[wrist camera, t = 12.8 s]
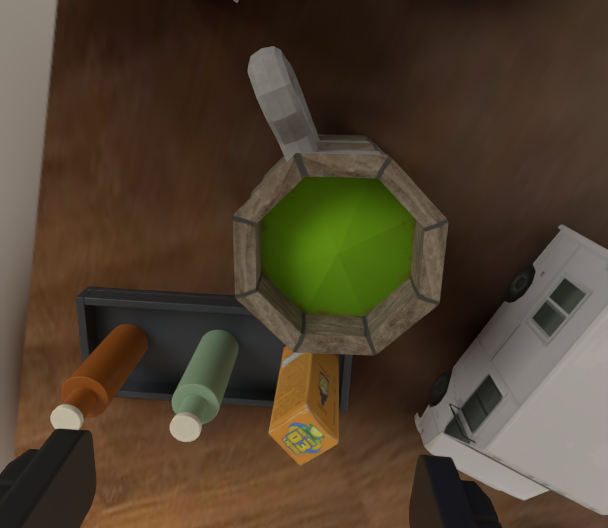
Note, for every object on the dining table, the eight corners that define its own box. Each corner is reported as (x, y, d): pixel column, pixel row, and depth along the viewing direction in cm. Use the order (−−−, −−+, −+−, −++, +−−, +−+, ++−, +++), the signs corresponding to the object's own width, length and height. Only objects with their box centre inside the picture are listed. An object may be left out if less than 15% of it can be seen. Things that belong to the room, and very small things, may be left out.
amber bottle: (111, 357, 39) (42, 440, 29) (108, 322, 38) (37, 397, 28) (149, 359, 39) (93, 444, 29) (147, 324, 38) (88, 400, 28)
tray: (97, 380, 40) (85, 395, 38) (88, 286, 38) (75, 296, 36) (346, 396, 40) (347, 412, 38) (354, 302, 37) (356, 314, 35)
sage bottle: (200, 362, 39) (160, 448, 29) (199, 328, 38) (157, 405, 28) (238, 365, 39) (210, 452, 29) (239, 330, 38) (210, 409, 28)
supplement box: (278, 348, 38) (263, 432, 29) (313, 323, 37) (310, 401, 28) (305, 378, 39) (299, 470, 29) (340, 355, 38) (346, 441, 29)
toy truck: (371, 381, 39) (387, 472, 30) (579, 199, 34) (678, 238, 25) (482, 476, 42) (529, 588, 32) (691, 320, 36) (820, 398, 27)
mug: (430, 249, 36) (480, 321, 24) (291, 298, 37) (277, 387, 26) (356, 26, 31) (375, -13, 20) (202, 93, 33) (138, 92, 22)
